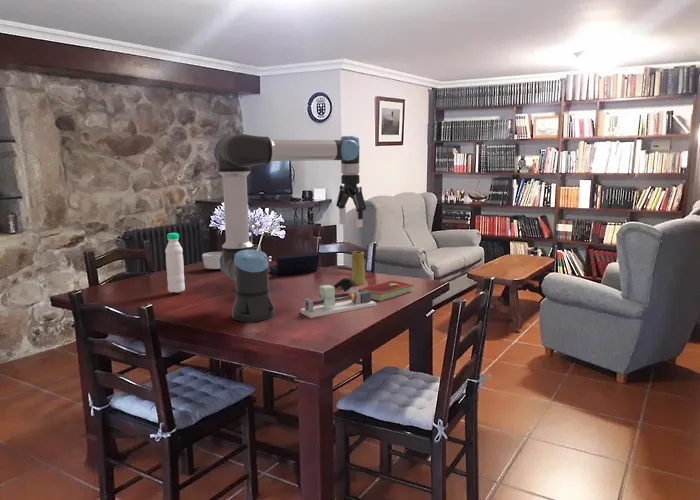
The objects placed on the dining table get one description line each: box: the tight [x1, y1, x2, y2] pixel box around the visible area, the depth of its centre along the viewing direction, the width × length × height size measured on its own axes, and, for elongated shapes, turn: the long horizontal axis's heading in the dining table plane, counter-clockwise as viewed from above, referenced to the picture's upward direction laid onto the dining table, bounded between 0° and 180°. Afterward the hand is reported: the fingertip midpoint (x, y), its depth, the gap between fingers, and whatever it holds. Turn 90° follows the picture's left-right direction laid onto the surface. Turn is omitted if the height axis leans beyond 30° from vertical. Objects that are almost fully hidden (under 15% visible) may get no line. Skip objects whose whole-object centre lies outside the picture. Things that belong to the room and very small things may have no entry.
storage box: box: [269, 252, 320, 276], centre depth 272 cm, size 21×16×10 cm
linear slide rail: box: [300, 290, 377, 319], centre depth 204 cm, size 28×8×6 cm, turn 121°
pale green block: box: [318, 284, 336, 307], centre depth 201 cm, size 4×4×7 cm
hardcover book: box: [358, 279, 415, 302], centre depth 225 cm, size 12×21×4 cm, turn 136°
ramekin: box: [201, 251, 222, 270], centre depth 285 cm, size 13×13×7 cm
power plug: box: [332, 277, 356, 294], centre depth 227 cm, size 6×8×12 cm
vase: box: [351, 250, 366, 286], centre depth 244 cm, size 6×6×14 cm
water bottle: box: [164, 232, 186, 293], centre depth 233 cm, size 7×7×25 cm
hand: (350, 225), depth 229 cm, fingers open, 13 cm apart
